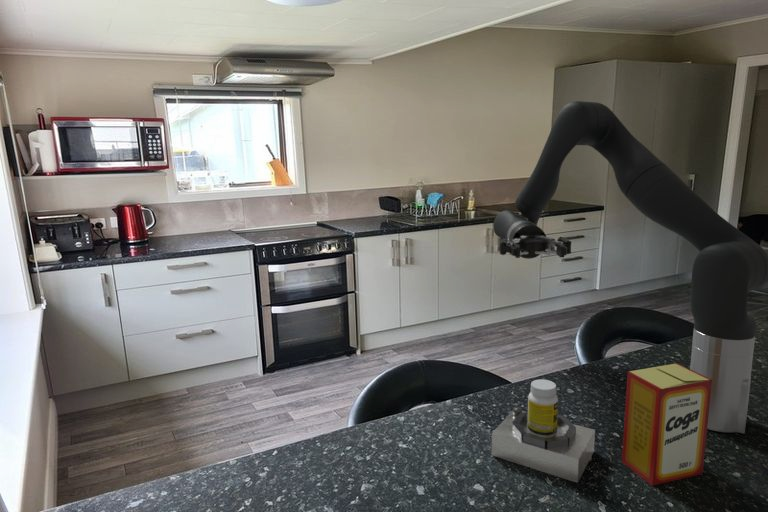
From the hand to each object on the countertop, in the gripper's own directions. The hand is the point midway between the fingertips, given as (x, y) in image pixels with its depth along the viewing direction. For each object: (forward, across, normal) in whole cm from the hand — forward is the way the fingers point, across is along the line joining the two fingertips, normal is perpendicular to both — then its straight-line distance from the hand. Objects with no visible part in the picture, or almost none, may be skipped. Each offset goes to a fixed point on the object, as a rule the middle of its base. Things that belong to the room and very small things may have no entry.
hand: (540, 252), depth 103 cm
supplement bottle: (+22, -3, +26) cm, 34 cm away
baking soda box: (+25, +14, +30) cm, 42 cm away
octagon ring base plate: (+22, -3, +30) cm, 37 cm away
